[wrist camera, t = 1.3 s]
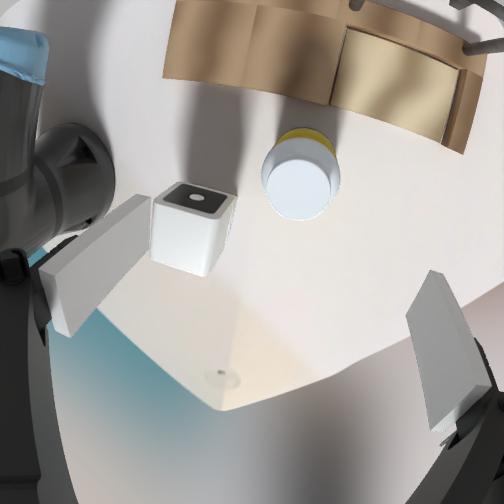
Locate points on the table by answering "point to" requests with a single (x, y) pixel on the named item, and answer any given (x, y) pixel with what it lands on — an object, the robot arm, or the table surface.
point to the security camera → (191, 227)
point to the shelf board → (327, 54)
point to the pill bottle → (301, 174)
